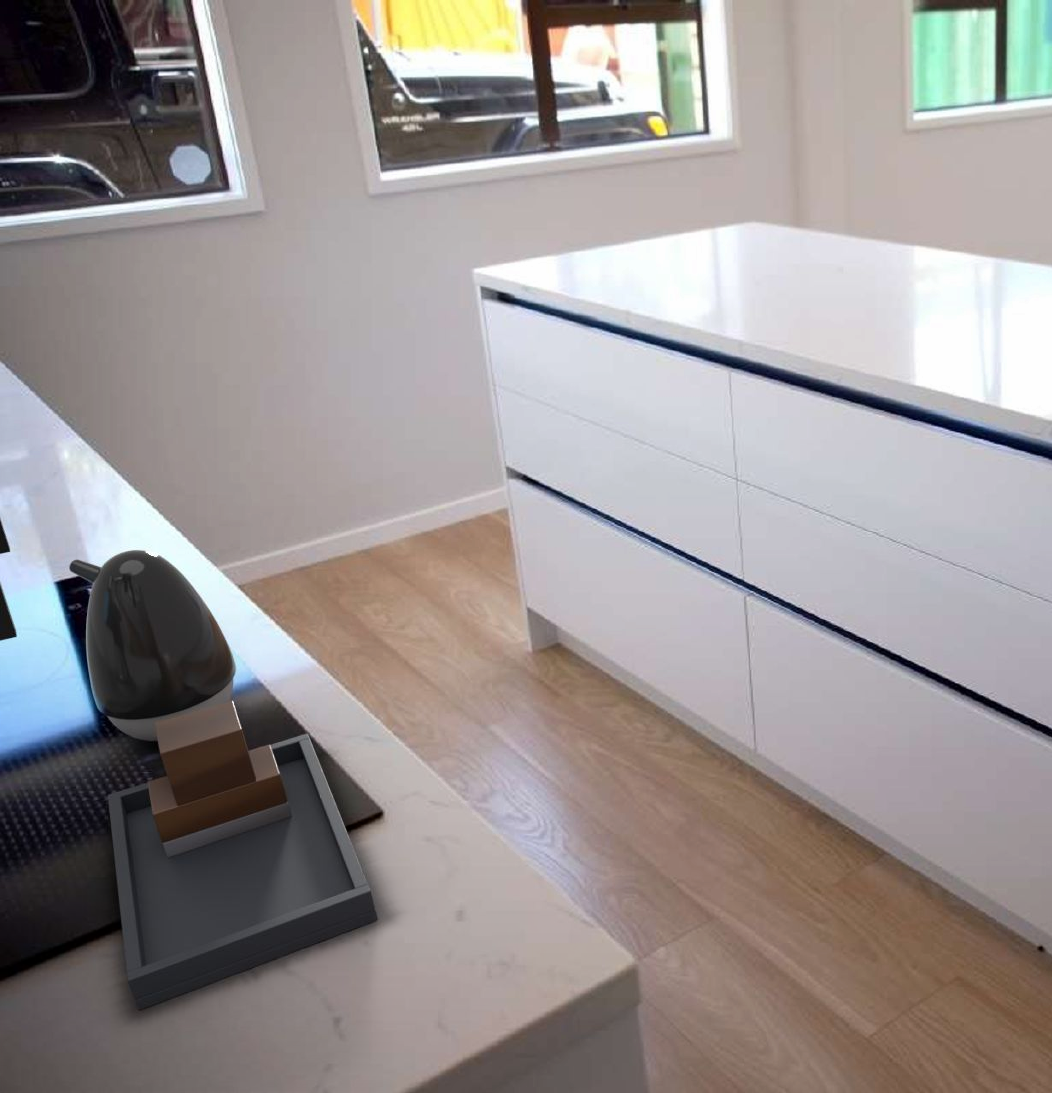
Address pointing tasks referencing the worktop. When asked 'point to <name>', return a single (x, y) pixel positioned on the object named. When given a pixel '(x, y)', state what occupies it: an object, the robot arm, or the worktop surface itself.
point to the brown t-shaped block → (212, 781)
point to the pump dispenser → (151, 643)
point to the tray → (235, 886)
